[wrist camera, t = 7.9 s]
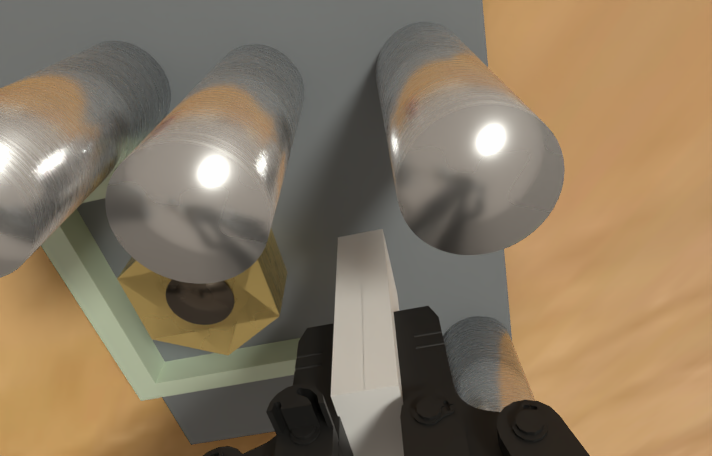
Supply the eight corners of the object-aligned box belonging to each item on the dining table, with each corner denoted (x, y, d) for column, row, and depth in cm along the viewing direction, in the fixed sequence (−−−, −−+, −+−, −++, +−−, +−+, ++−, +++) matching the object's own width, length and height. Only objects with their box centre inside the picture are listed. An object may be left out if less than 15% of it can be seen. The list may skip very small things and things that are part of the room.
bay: (150, 378, 22) (141, 400, 21) (28, 178, 17) (8, 194, 16) (306, 351, 21) (304, 373, 20) (225, 134, 16) (217, 148, 15)
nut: (186, 320, 20) (166, 367, 18) (128, 206, 18) (96, 246, 15) (297, 299, 20) (290, 345, 18) (253, 179, 17) (240, 216, 15)
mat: (193, 437, 25) (191, 444, 24) (-69, 0, 15) (-79, 2, 14) (513, 385, 23) (516, 392, 23) (466, -143, 13) (469, -145, 13)
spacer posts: (252, 433, 24) (212, 637, 17) (59, 52, 15) (-187, 158, 8) (514, 391, 23) (586, 593, 16) (474, -51, 14) (599, -30, 7)
